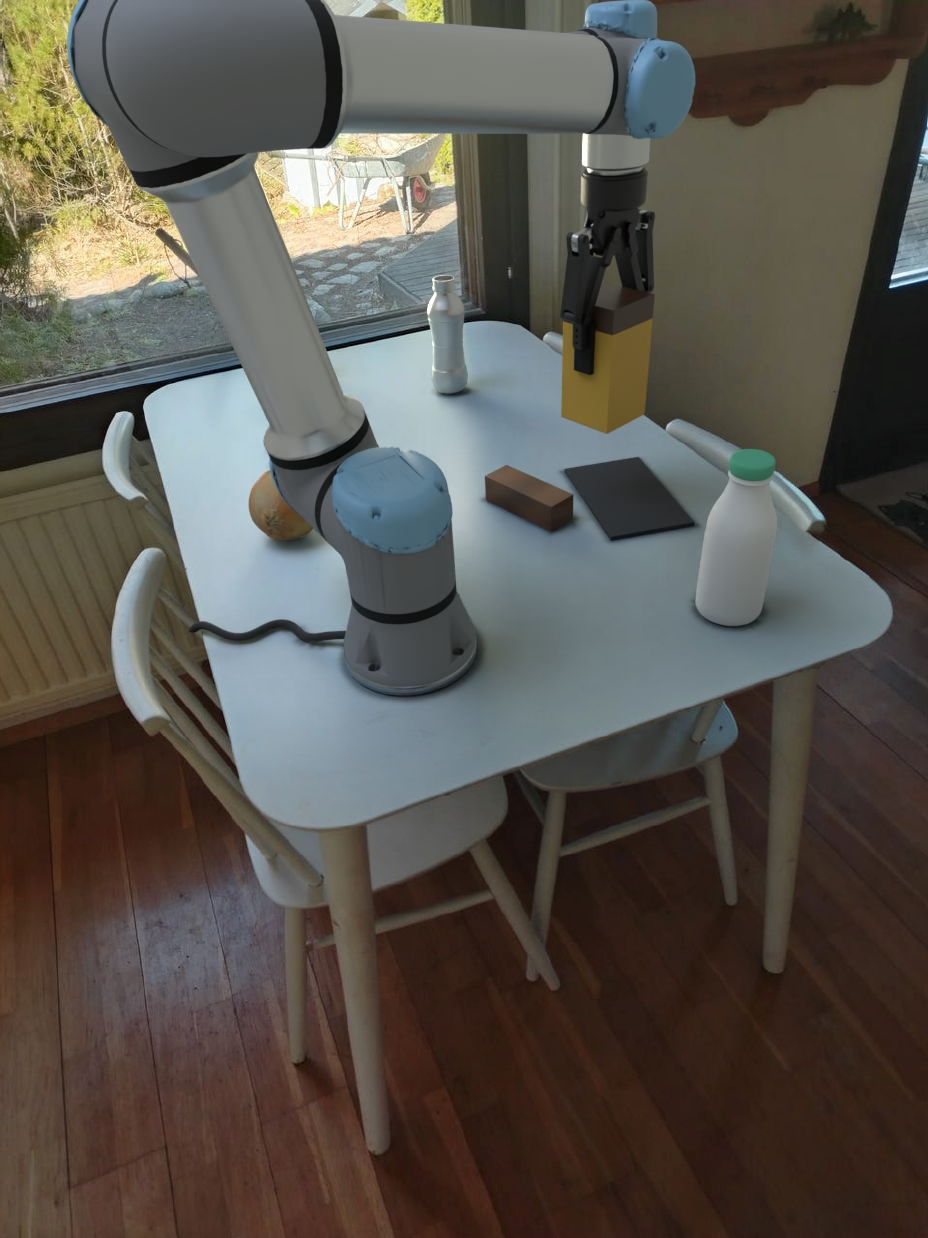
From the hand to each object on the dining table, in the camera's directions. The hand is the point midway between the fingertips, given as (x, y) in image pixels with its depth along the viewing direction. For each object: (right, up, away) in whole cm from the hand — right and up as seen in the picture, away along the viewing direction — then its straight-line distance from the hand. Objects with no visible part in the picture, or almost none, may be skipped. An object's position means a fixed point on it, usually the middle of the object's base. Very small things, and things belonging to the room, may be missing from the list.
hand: (605, 361), depth 111 cm
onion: (-43, -22, +9) cm, 49 cm away
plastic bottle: (-21, +8, +46) cm, 51 cm away
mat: (+5, -16, +12) cm, 21 cm away
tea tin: (-3, +2, +2) cm, 4 cm away
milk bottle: (+13, -32, -9) cm, 36 cm away
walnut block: (-9, -18, +11) cm, 23 cm away
